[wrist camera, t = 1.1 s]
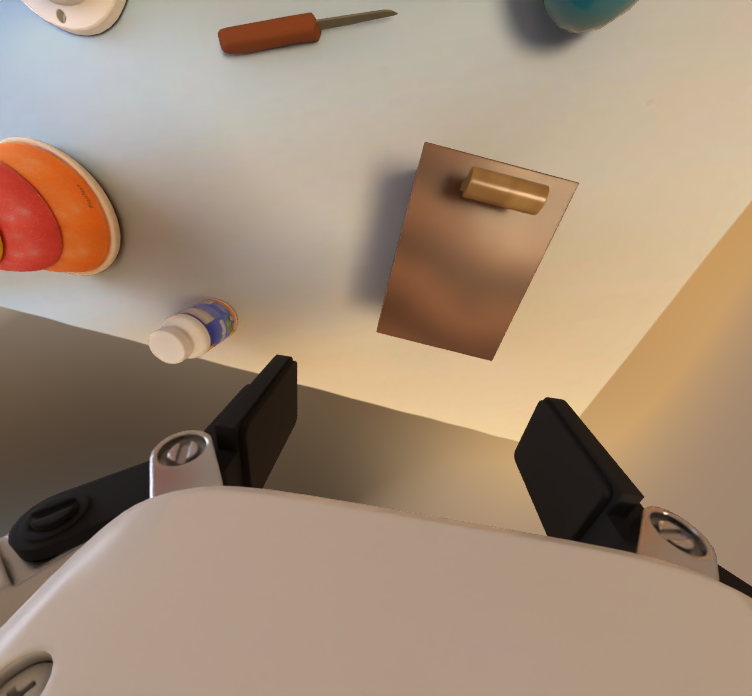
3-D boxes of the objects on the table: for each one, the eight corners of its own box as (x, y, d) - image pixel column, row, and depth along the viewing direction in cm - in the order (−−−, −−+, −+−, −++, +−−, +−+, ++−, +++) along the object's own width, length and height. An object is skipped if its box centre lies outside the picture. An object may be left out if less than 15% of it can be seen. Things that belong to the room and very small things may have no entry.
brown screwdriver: (229, 58, 27) (217, 48, 25) (225, 38, 26) (211, 26, 24) (398, 31, 25) (397, 17, 23) (397, 8, 24) (396, -8, 22)
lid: (424, 143, 21) (429, 127, 17) (574, 183, 21) (616, 178, 17) (376, 329, 28) (371, 351, 24) (490, 357, 28) (505, 384, 24)
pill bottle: (233, 341, 40) (187, 378, 32) (196, 323, 40) (138, 356, 31) (243, 309, 38) (196, 340, 29) (204, 290, 37) (144, 315, 29)
